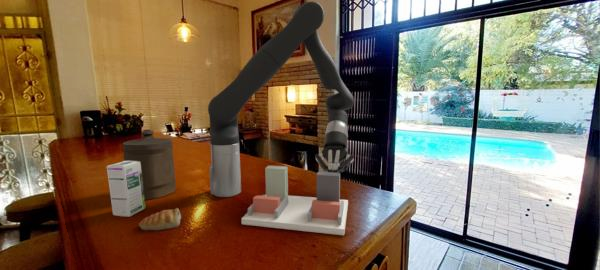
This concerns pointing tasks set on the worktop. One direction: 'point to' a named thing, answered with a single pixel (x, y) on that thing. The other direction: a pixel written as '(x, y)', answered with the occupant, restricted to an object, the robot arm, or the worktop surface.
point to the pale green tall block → (276, 181)
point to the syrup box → (126, 188)
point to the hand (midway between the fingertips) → (331, 182)
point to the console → (298, 214)
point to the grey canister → (153, 163)
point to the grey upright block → (328, 186)
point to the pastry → (161, 220)
